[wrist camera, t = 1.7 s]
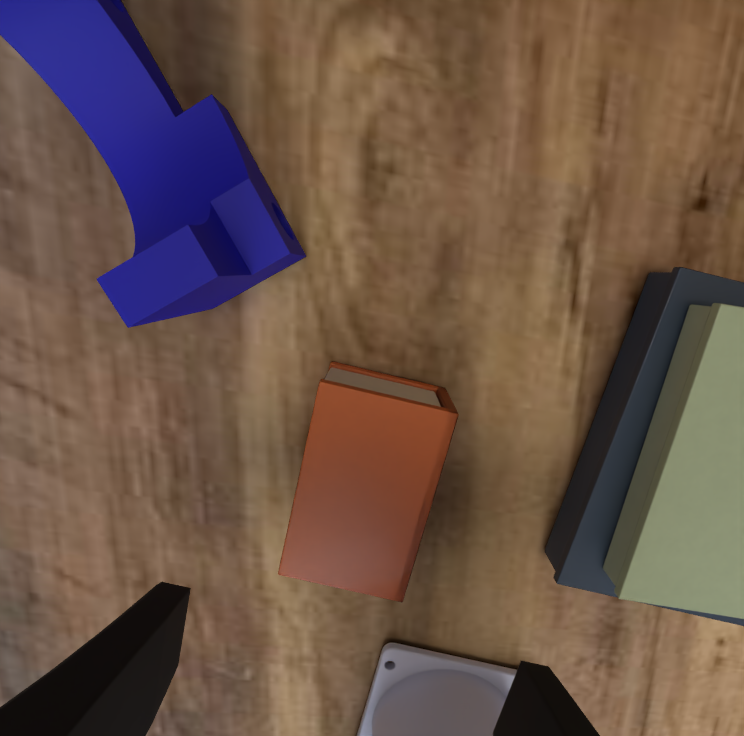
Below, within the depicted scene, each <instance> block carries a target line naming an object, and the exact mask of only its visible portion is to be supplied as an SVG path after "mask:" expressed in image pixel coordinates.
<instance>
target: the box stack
mask: <svg viewBox="0 0 744 736" xmlns="http://www.w3.org/2000/svg"><path fill="white" fill-rule="evenodd" d="M545 553H546V555H547V557H548V558H549V560H550V562H551V564H552V565H553V567H554V569H555V571H556V572H555V574H554V580H555V581H556V583H557V584H561V585H565V586H570V587H574V588H578V589H583V590H587V591H592V592H596V593H601V594H605V595H609V596H614V597H618V598H619V599H624V600H630V601H636V602H640V603H645V604H649V605H654V606H658V607H662V608H667V609H671V610H676V611H680V612H684V613H689V614H693V615H698V616H702V617H706V618H711V619H715V620H720V621H724V622H729V623H733V624H737V625H742V626H744V283H743V282H739V281H735V280H731V279H727V278H723V277H719V276H715V275H711V274H707V273H703V272H699V271H695V270H691V269H687V268H683V267H674V268H673V270H672V272H650V273H649V275H648V277H647V280H646V283H645V285H644V288H643V291H642V293H641V296H640V299H639V301H638V304H637V307H636V309H635V312H634V315H633V317H632V320H631V323H630V325H629V328H628V331H627V333H626V336H625V338H624V341H623V344H622V346H621V349H620V352H619V354H618V357H617V360H616V362H615V365H614V368H613V370H612V373H611V376H610V378H609V381H608V384H607V386H606V389H605V392H604V394H603V397H602V400H601V402H600V405H599V408H598V410H597V413H596V415H595V418H594V421H593V423H592V426H591V429H590V431H589V434H588V437H587V439H586V442H585V445H584V447H583V450H582V453H581V455H580V458H579V461H578V463H577V466H576V469H575V471H574V474H573V477H572V479H571V482H570V485H569V487H568V490H567V493H566V495H565V498H564V500H563V503H562V506H561V508H560V511H559V514H558V516H557V519H556V522H555V524H554V527H553V530H552V532H551V535H550V538H549V540H548V543H547V546H546V548H545Z"/></svg>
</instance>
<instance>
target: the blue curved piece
mask: <svg viewBox="0 0 744 736" xmlns="http://www.w3.org/2000/svg"><path fill="white" fill-rule="evenodd" d="M0 35H1V36H2V37H3V38H4V39H5V40H6V41H7V42H8V43H9V44H10V45H11V46H12V47H13V48H14V49H15V50H16V51H17V52H18V53H19V54H20V55H21V56H22V57H23V58H24V59H25V60H26V61H27V62H28V63H29V65H30V66H31V67H32V68H33V69H34V70H35V71H36V72H37V73H38V74H39V75H40V77H41V78H42V79H43V80H44V81H45V82H46V83H47V84H48V86H49V87H50V88H51V89H52V90H53V91H54V93H55V94H56V95H57V96H58V97H59V98H60V100H61V101H62V102H63V103H64V105H65V106H66V107H67V108H68V109H69V111H70V112H71V113H72V114H73V116H74V117H75V118H76V120H77V121H78V122H79V124H80V125H81V126H82V128H83V129H84V130H85V132H86V133H87V135H88V136H89V137H90V139H91V140H92V142H93V143H94V145H95V146H96V148H97V149H98V151H99V152H100V154H101V155H102V157H103V158H104V160H105V162H106V163H107V165H108V167H109V168H110V170H111V172H112V174H113V176H114V177H115V179H116V181H117V183H118V185H119V187H120V189H121V191H122V193H123V196H124V198H125V200H126V203H127V205H128V208H129V211H130V214H131V218H132V221H133V225H134V231H135V251H134V255H133V257H132V258H131V259H129V260H127V261H126V262H124V263H122V264H121V265H119V266H117V267H116V268H114V269H112V270H111V271H109V272H107V273H106V274H104V275H102V276H100V277H99V278H97V281H98V282H99V284H100V285H101V287H102V288H103V290H104V292H105V293H106V295H107V296H108V298H109V299H110V301H111V302H112V304H113V305H114V307H115V309H116V310H117V312H118V313H119V315H120V316H121V318H122V319H123V321H124V322H125V324H126V326H127V327H128V328H129V327H133V326H138V325H142V324H147V323H151V322H156V321H160V320H165V319H169V318H174V317H178V316H182V315H187V314H191V313H196V312H200V311H205V310H209V309H213V308H215V307H217V306H218V305H220V304H222V303H224V302H226V301H227V300H229V299H231V298H233V297H235V296H236V295H238V294H240V293H242V292H244V291H245V290H247V289H249V288H251V287H252V286H254V285H256V284H258V283H260V282H261V281H263V280H265V279H267V278H269V277H270V276H272V275H274V274H276V273H278V272H279V271H281V270H283V269H285V268H286V267H288V266H290V265H292V264H294V263H295V262H297V261H299V260H301V259H303V258H304V257H306V255H305V253H304V251H303V249H302V247H301V245H300V243H299V242H298V240H297V238H296V236H295V234H294V232H293V231H292V229H291V227H290V225H289V223H288V221H287V219H286V218H285V216H284V214H283V212H282V210H281V208H280V207H279V205H278V203H277V201H276V199H275V197H274V195H273V194H272V192H271V190H270V188H269V186H268V184H267V183H266V181H265V179H264V177H263V175H262V173H261V171H260V170H259V168H258V166H257V164H256V162H255V160H254V159H253V157H252V155H251V153H250V151H249V149H248V147H247V146H246V144H245V142H244V140H243V138H242V136H241V135H240V133H239V131H238V129H237V127H236V125H235V123H234V122H233V120H232V118H231V116H230V114H229V112H228V111H227V109H226V108H225V107H224V106H223V105H222V104H221V103H220V102H219V101H218V100H217V99H216V98H215V97H214V96H213V95H212V94H211V95H210V96H208V97H207V98H205V99H203V100H202V101H200V102H199V103H197V104H196V105H194V106H192V107H191V108H189V109H188V110H186V111H185V112H183V110H182V108H181V107H180V105H179V103H178V101H177V100H176V98H175V96H174V94H173V92H172V91H171V89H170V87H169V85H168V84H167V82H166V80H165V78H164V76H163V75H162V73H161V71H160V69H159V68H158V66H157V64H156V62H155V60H154V59H153V57H152V55H151V53H150V51H149V50H148V48H147V46H146V44H145V43H144V41H143V39H142V37H141V35H140V34H139V32H138V30H137V28H136V27H135V25H134V23H133V21H132V19H131V18H130V16H129V14H128V12H127V10H126V9H125V7H124V5H123V3H122V2H121V0H0Z"/></svg>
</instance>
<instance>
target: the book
mask: <svg viewBox="0 0 744 736" xmlns="http://www.w3.org/2000/svg"><path fill="white" fill-rule="evenodd" d="M458 415H459V414H458V412H457V410H456V408H455V406H454V404H453V402H452V400H451V398H450V396H449V394H448V393H447V391H446V389H445V388H443V387H439V386H434V385H430V384H426V383H422V382H418V381H413V380H409V379H405V378H401V377H396V376H392V375H388V374H384V373H380V372H375V371H371V370H367V369H363V368H358V367H354V366H350V365H346V364H342V363H337V362H333V361H331V363H330V366H329V371H328V373H327V375H326V377H325V379H321V380H320V382H319V386H318V390H317V395H316V400H315V404H314V409H313V414H312V418H311V423H310V427H309V432H308V437H307V441H306V446H305V451H304V455H303V460H302V465H301V469H300V474H299V478H298V483H297V488H296V492H295V497H294V502H293V506H292V511H291V516H290V520H289V525H288V529H287V534H286V539H285V543H284V548H283V553H282V557H281V562H280V567H279V571H278V574H279V575H282V576H287V577H291V578H296V579H300V580H305V581H309V582H313V583H318V584H322V585H327V586H331V587H336V588H340V589H345V590H349V591H354V592H358V593H363V594H367V595H372V596H376V597H381V598H385V599H389V600H394V601H398V602H403V599H404V596H405V593H406V589H407V586H408V583H409V579H410V576H411V573H412V569H413V566H414V563H415V559H416V556H417V553H418V549H419V546H420V543H421V539H422V536H423V532H424V529H425V526H426V522H427V519H428V516H429V512H430V509H431V506H432V502H433V499H434V496H435V492H436V489H437V486H438V482H439V479H440V476H441V472H442V469H443V466H444V462H445V459H446V455H447V452H448V449H449V445H450V442H451V439H452V435H453V432H454V429H455V425H456V422H457V419H458Z"/></svg>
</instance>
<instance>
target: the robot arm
mask: <svg viewBox="0 0 744 736" xmlns="http://www.w3.org/2000/svg"><path fill="white" fill-rule="evenodd" d="M190 589H191V588H188V587H183V586H179V585H174V584H169V583H165V582H161V583H159V584H158V585H156V586H155V587H154V588H152V589H151V590H150V591H149V592H148V593H147V594H145V595H144V596H143V597H142V598H141V599H140V600H138V601H137V602H136V603H135V604H134V605H132V606H131V607H130V608H129V609H128V610H127V611H125V612H124V613H123V614H122V615H121V616H119V617H118V618H117V619H116V620H114V621H113V622H112V623H111V624H110V625H108V626H107V627H106V628H105V629H103V630H102V631H101V632H100V633H99V634H97V635H96V636H95V637H93V638H92V639H91V640H90V641H88V642H87V643H86V644H84V645H83V646H82V647H81V648H79V649H78V650H77V651H76V652H74V653H73V654H72V655H70V656H69V657H68V658H67V659H65V660H64V661H63V662H61V663H60V664H59V665H58V666H56V667H55V668H54V669H52V670H51V671H50V672H48V673H47V674H46V675H44V676H43V677H42V678H40V679H39V680H37V681H36V682H35V683H33V684H32V685H30V686H29V687H28V688H26V689H25V690H24V691H22V692H21V693H19V694H18V695H17V696H15V697H14V698H12V699H11V700H10V701H8V702H7V703H6V704H4V705H3V706H1V707H0V736H145V735H146V734H147V732H148V730H149V728H150V726H151V724H152V722H153V720H154V718H155V716H156V714H157V712H158V709H159V707H160V705H161V703H162V701H163V698H164V696H165V694H166V692H167V689H168V687H169V685H170V683H171V680H172V678H173V676H174V674H175V671H176V669H177V667H178V663H179V657H180V651H181V645H182V638H183V632H184V626H185V620H186V613H187V607H188V601H189V595H190ZM387 661H392V662H387ZM357 736H600V735H599V734H598V732H597V731H596V730H595V728H594V727H593V726H592V724H591V723H590V722H589V720H588V719H587V718H586V716H585V715H584V713H583V712H582V711H581V709H580V708H579V707H578V705H577V704H576V703H575V701H574V700H573V698H572V697H571V696H570V694H569V693H568V692H567V690H566V689H565V688H564V686H563V685H562V684H561V682H560V681H559V680H558V678H557V677H556V676H555V674H554V673H553V672H552V671H551V669H550V668H549V667H548V666H543V665H539V664H534V663H530V662H525V661H521V662H520V664H519V667H518V670H516V669H511V668H507V667H502V666H497V665H493V664H488V663H484V662H479V661H475V660H470V659H466V658H461V657H457V656H452V655H448V654H443V653H439V652H434V651H430V650H425V649H420V648H416V647H411V646H407V645H402V644H398V643H388V644H386V645H385V646H384V647H383V649H382V652H381V655H380V659H379V662H378V665H377V669H376V672H375V676H374V679H373V682H372V686H371V689H370V693H369V696H368V699H367V703H366V706H365V710H364V713H363V716H362V720H361V723H360V727H359V730H358V733H357Z"/></svg>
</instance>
